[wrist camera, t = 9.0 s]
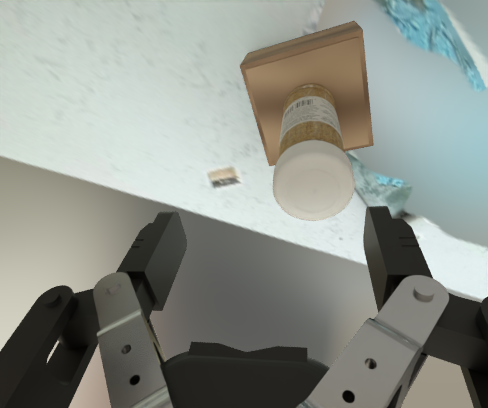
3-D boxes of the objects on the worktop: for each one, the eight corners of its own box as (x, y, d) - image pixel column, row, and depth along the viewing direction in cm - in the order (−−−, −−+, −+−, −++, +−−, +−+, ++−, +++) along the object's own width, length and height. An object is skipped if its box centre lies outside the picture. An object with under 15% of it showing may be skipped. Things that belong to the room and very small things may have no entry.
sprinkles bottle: (289, 136, 31) (281, 228, 20) (278, 89, 28) (262, 163, 18) (339, 126, 29) (359, 218, 19) (332, 75, 27) (351, 147, 16)
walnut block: (247, 53, 32) (239, 66, 28) (354, 20, 29) (363, 29, 25) (272, 144, 37) (269, 167, 33) (365, 124, 34) (373, 146, 30)
